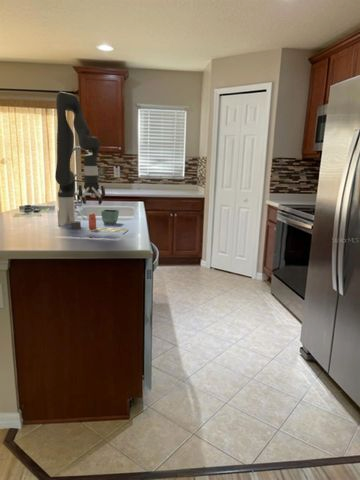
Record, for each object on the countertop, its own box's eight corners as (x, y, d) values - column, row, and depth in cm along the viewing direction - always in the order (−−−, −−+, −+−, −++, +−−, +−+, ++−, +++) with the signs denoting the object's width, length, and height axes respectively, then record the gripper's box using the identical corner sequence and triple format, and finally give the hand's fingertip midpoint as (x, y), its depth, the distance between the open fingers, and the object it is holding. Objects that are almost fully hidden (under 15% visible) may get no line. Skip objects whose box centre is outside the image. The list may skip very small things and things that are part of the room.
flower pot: (119, 224, 221) (119, 209, 219) (115, 226, 213) (115, 211, 211) (105, 223, 222) (105, 209, 220) (101, 226, 214) (100, 211, 212)
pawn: (87, 229, 196) (87, 213, 194) (90, 228, 200) (89, 212, 198) (94, 229, 196) (94, 213, 194) (97, 228, 200) (96, 212, 198)
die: (71, 231, 196) (70, 222, 195) (71, 229, 201) (71, 220, 200) (80, 231, 198) (80, 222, 196) (80, 229, 202) (80, 220, 201)
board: (84, 232, 194) (84, 230, 194) (90, 229, 204) (90, 227, 203) (124, 234, 192) (124, 232, 192) (128, 230, 202) (128, 228, 201)
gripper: (75, 174, 189) (77, 204, 192) (101, 175, 187) (102, 205, 191) (80, 174, 196) (82, 203, 200) (105, 174, 195) (106, 203, 198)
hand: (92, 204), depth 195 cm, fingers open, 8 cm apart
